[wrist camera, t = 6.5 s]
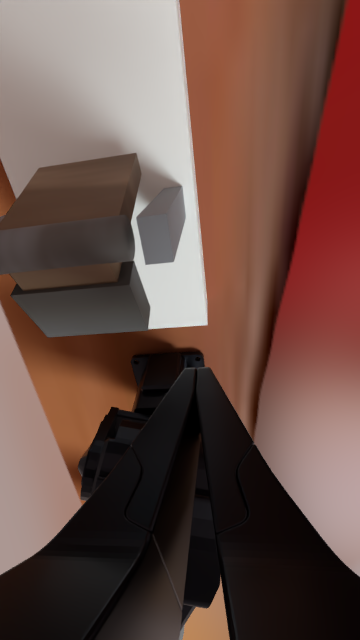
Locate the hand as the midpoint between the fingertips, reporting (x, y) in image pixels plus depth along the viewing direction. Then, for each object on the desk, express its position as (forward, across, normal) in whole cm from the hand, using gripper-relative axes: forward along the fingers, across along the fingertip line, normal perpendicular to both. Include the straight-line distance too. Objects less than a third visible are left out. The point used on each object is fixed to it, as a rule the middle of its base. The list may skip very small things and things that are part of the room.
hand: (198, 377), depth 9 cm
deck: (+13, +5, -4) cm, 14 cm away
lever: (+9, +5, -4) cm, 11 cm away
